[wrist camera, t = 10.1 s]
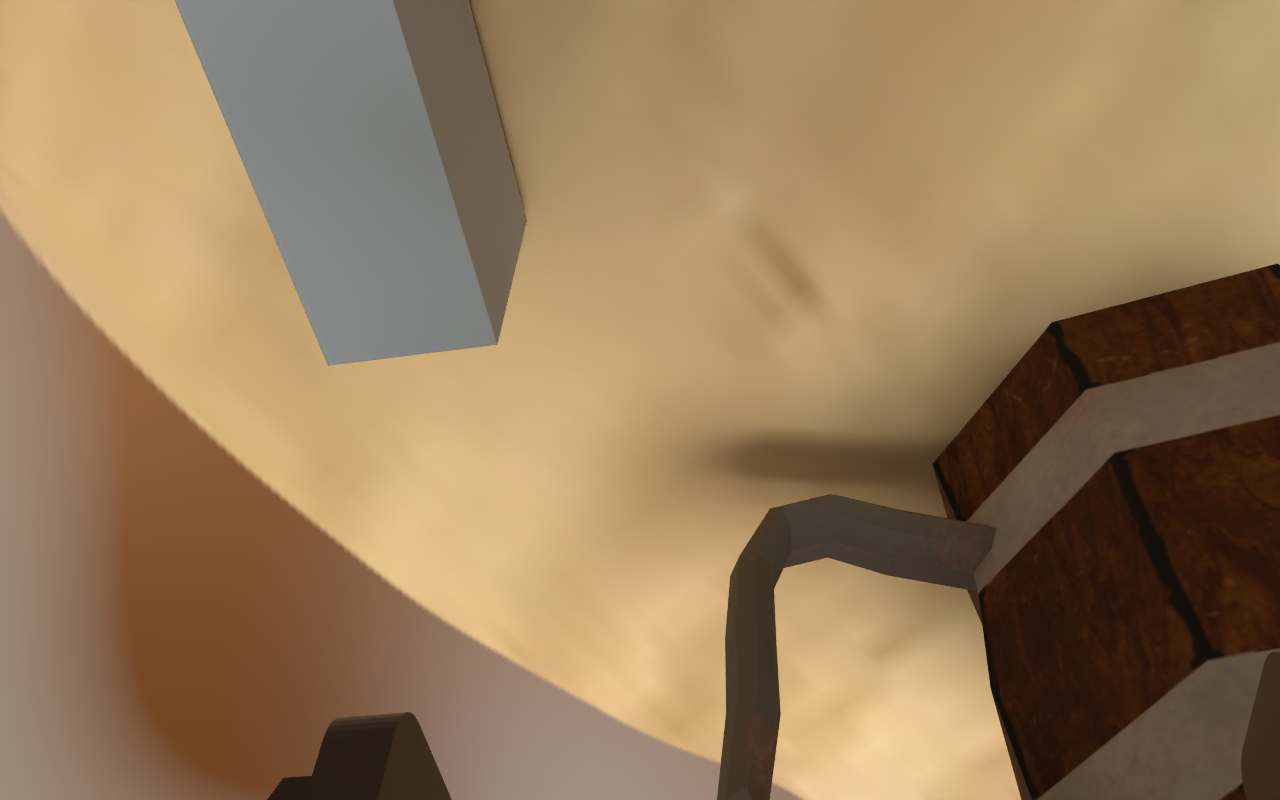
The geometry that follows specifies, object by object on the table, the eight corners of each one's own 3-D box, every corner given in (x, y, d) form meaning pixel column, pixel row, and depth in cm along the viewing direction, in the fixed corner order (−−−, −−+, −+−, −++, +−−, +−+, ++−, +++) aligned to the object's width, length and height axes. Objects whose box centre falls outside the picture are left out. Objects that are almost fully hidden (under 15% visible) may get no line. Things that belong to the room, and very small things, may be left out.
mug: (1563, 279, 27) (2266, 886, 15) (1325, 653, 35) (1652, 1234, 23) (730, 233, 27) (763, 802, 15) (690, 617, 35) (690, 1179, 23)
